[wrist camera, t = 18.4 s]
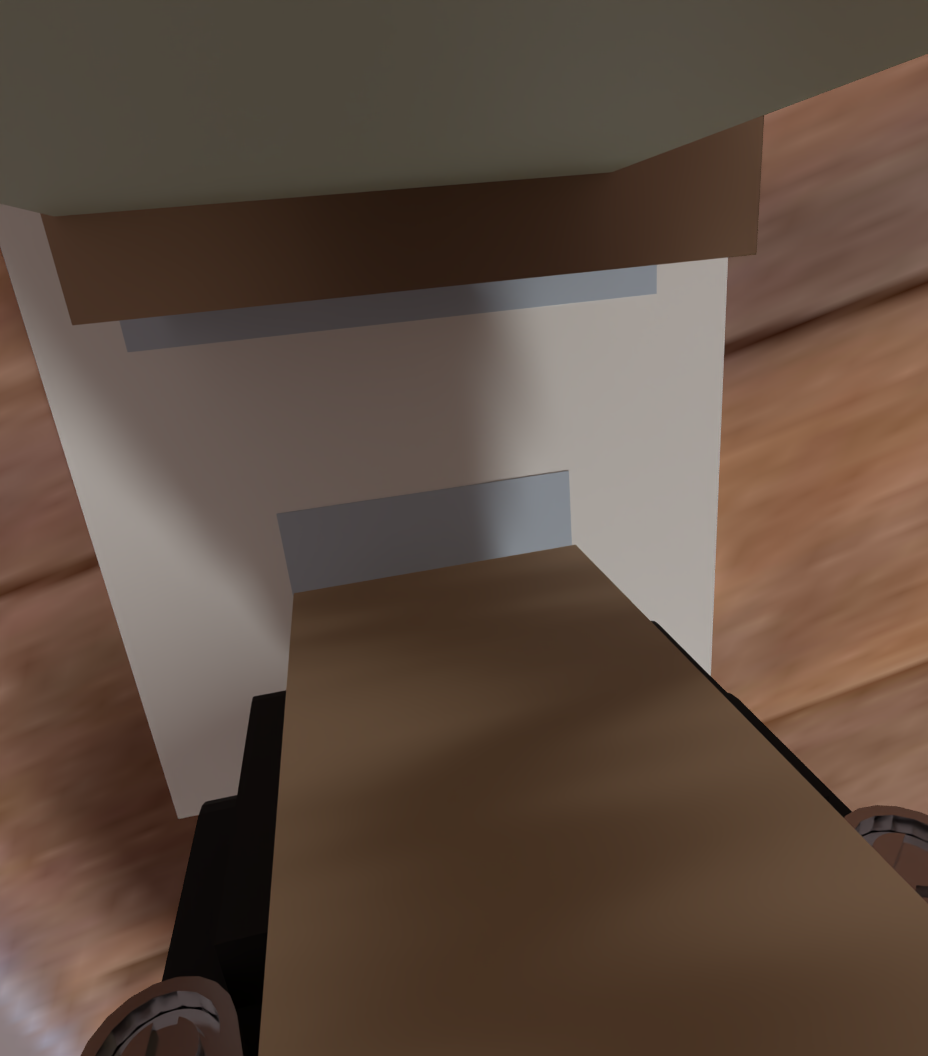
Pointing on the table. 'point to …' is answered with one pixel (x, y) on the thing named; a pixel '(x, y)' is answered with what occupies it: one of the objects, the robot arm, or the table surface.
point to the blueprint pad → (373, 461)
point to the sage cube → (397, 89)
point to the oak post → (558, 842)
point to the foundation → (412, 235)
